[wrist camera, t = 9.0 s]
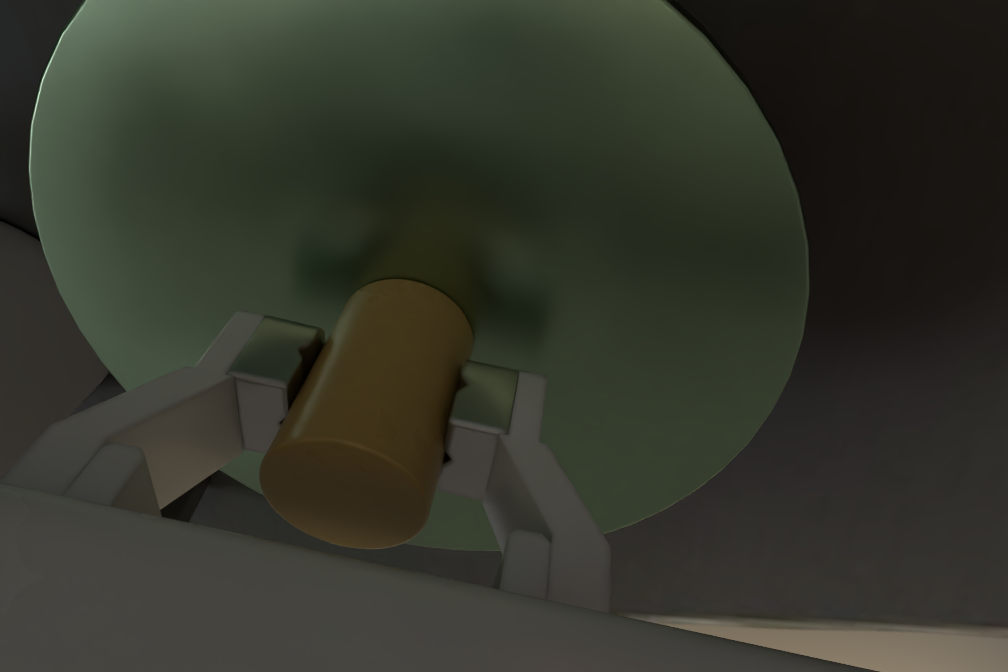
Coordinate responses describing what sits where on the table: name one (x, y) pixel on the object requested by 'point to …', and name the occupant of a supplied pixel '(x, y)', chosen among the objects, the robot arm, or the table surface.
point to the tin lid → (431, 234)
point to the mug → (36, 349)
